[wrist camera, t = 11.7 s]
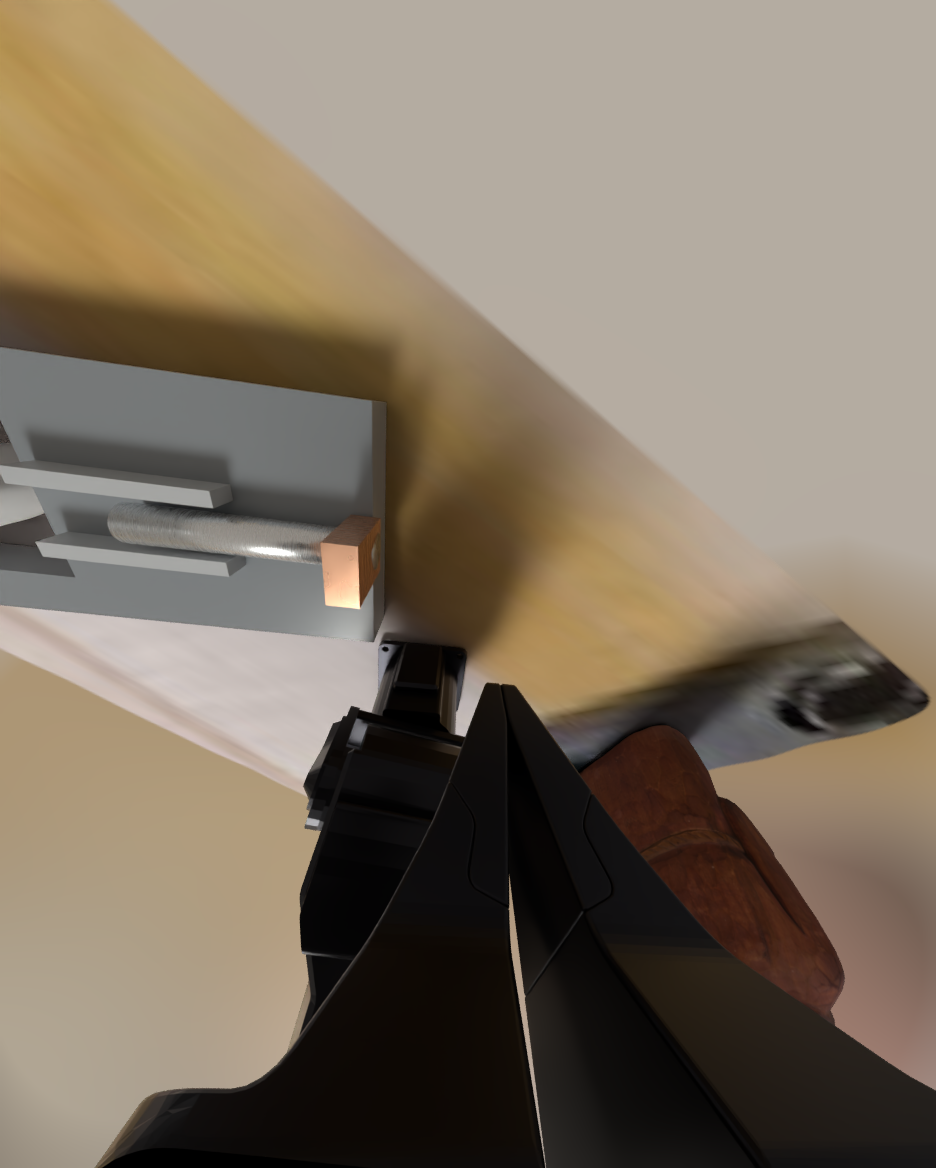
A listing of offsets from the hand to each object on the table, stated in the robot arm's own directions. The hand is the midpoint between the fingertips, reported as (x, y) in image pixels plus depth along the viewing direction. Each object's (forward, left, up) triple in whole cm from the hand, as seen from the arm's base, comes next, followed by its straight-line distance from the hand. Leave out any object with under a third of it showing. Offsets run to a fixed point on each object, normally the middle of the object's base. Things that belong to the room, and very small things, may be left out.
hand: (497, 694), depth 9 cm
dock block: (0, +20, -13) cm, 24 cm away
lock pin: (0, +12, -10) cm, 15 cm away
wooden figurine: (-20, -17, -13) cm, 29 cm away
